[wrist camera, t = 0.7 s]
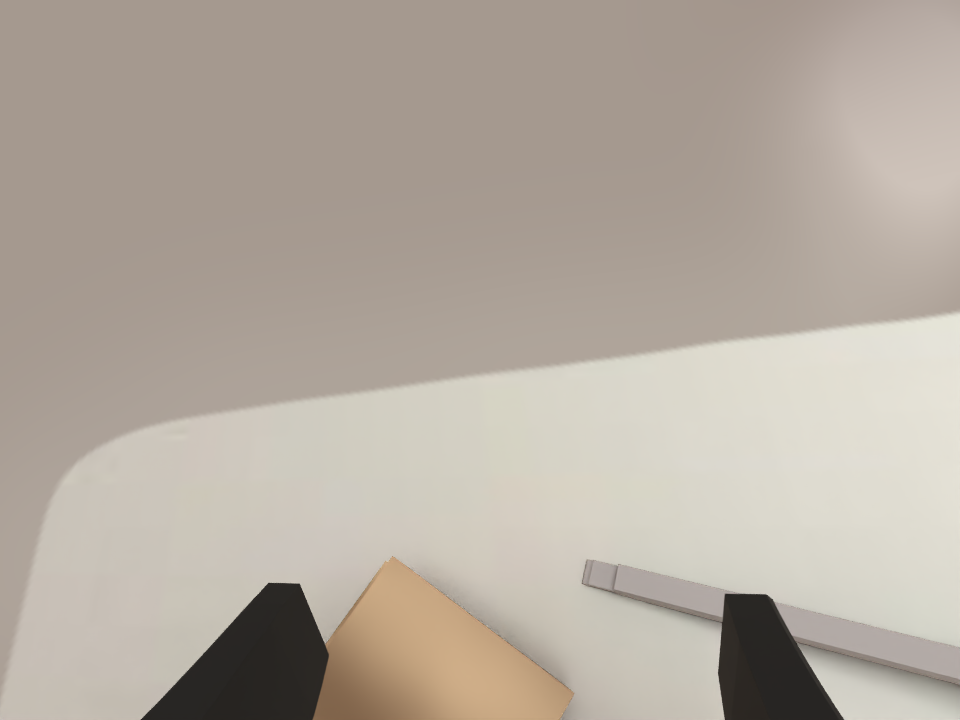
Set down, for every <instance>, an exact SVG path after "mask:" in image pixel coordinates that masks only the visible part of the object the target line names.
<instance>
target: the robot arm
mask: <svg viewBox="0 0 960 720" xmlns="http://www.w3.org/2000/svg"><path fill="white" fill-rule="evenodd" d="M328 659H329V653H328V651H327V648H326V646H325V644H324V641H323V639H322V636H321V634H320V632H319V629H318V627H317V624H316V622H315V619H314V617H313V615H312V612H311V610H310V607H309V605H308V603H307V600H306V598H305V595H304V593H303V591H302V588H301V586H300V584H292V583H268V584H267V585H266V586H265V587H264V588H263V589H262V591H261V592H260V593H259V594H258V595H257V596H256V597H255V598H254V599H253V600H252V601H251V602H250V603H249V604H248V606H247V607H246V608H245V609H244V610H243V611H242V612H241V613H240V614H239V615H238V617H237V618H236V619H235V620H234V621H233V622H232V623H231V624H230V625H229V626H228V628H227V629H226V630H225V631H224V632H223V633H222V634H221V635H220V636H219V637H218V639H217V640H216V641H215V642H214V643H213V644H212V645H211V646H210V647H209V648H208V650H207V651H206V652H205V653H204V654H203V655H202V656H201V657H200V658H199V659H198V660H197V661H196V663H195V664H194V665H193V666H192V667H191V668H190V669H189V670H188V671H187V672H186V673H185V674H184V675H183V676H182V677H181V678H180V680H179V681H178V682H177V683H176V684H175V685H174V686H173V687H172V688H171V689H170V690H169V691H168V692H167V693H166V694H165V696H164V697H163V698H162V699H161V700H160V701H159V702H158V703H157V704H156V705H155V706H154V707H153V708H152V709H151V710H150V711H149V712H148V713H147V714H146V715H145V716H144V717H143V718H142V719H141V720H313V717H314V714H315V710H316V707H317V703H318V699H319V695H320V692H321V688H322V684H323V680H324V675H325V671H326V667H327V663H328ZM718 676H719V683H720V689H721V696H722V703H723V710H724V717H725V720H844V719H843V717H842V716H841V714H840V713H839V711H838V710H837V708H836V707H835V705H834V704H833V702H832V701H831V699H830V697H829V696H828V694H827V693H826V691H825V690H824V688H823V686H822V685H821V683H820V682H819V680H818V678H817V677H816V675H815V673H814V672H813V670H812V669H811V667H810V665H809V664H808V662H807V660H806V659H805V657H804V655H803V654H802V652H801V650H800V649H799V647H798V645H797V643H796V642H795V640H794V638H793V636H792V635H791V633H790V631H789V629H788V627H787V626H786V624H785V622H784V620H783V618H782V616H781V615H780V613H779V611H778V609H777V607H776V605H775V603H774V601H773V599H771V598H770V597H769V596H768V595H765V594H725V596H724V608H723V620H722V632H721V645H720V657H719V669H718Z"/></svg>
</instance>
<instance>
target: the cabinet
mask: <svg viewBox="0 0 960 720" xmlns="http://www.w3.org/2000/svg"><path fill="white" fill-rule="evenodd" d="M325 646H326V648H327V651H328V653H329V659H328V663H327V667H326V671H325V675H324V680H323V684H322V688H321V692H320V695H319V699H318V703H317V707H316V710H315V714H314V717H313V720H560V718H561V716H562V714H563V713H564V711H565V709H566V707H567V706H568V704H569V702H570V700H571V699H572V697H573V695H574V693H573V692H572V691H571V690H570V689H569V688H568V687H566V686H565V685H564V684H562V683H561V682H560V681H558V680H557V679H556V678H554V677H553V676H552V675H550V674H549V673H548V672H547V671H545V670H544V669H543V668H541V667H540V666H539V665H537V664H536V663H535V662H533V661H532V660H531V659H529V658H528V657H527V656H525V655H524V654H523V653H521V652H520V651H519V650H517V649H516V648H514V647H513V646H512V645H510V644H509V643H508V642H506V641H505V640H504V639H502V638H501V637H500V636H498V635H497V634H496V633H494V632H493V631H492V630H490V629H489V628H488V627H486V626H485V625H484V624H482V623H481V622H480V621H478V620H477V619H476V618H474V617H473V616H472V615H470V614H469V613H468V612H467V611H465V610H464V609H463V608H461V607H460V606H459V605H457V604H456V603H455V602H453V601H452V600H451V599H449V598H448V597H447V596H445V595H444V594H443V593H441V592H440V591H439V590H437V589H436V588H435V587H433V586H432V585H431V584H429V583H428V582H427V581H425V580H424V579H423V578H421V577H420V576H419V575H418V574H416V573H415V572H414V571H412V570H411V569H410V568H408V567H407V566H405V565H404V564H403V563H401V562H400V561H399V560H397V559H396V558H395V557H393V556H392V558H391V559H390V560H389V562H387V561H385V563H384V564H383V565H382V567H381V568H380V570H379V571H378V572H377V574H376V575H375V576H374V578H373V579H372V581H371V582H370V583H369V585H368V586H367V588H366V589H365V590H364V592H363V593H362V594H361V596H360V597H359V599H358V600H357V601H356V603H355V604H354V606H353V607H352V608H351V610H350V611H349V613H348V614H347V615H346V617H345V618H344V619H343V621H342V622H341V624H340V625H339V626H338V628H337V629H336V631H335V632H334V633H333V635H332V636H331V638H330V639H329V640H328V642H327V643H326V644H325Z"/></svg>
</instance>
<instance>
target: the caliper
mask: <svg viewBox="0 0 960 720" xmlns="http://www.w3.org/2000/svg"><path fill="white" fill-rule="evenodd" d="M582 584H585V585H588V586H592V587H596V588H599V589H603V590H607V591H611V592H615V593H616V594H619V595H623V596H626V597H630V598H633V599H637V600H640V601H644V602H647V603H651V604H654V605H658V606H662V607H666V608H670V609H673V610H677V611H681V612H685V613H689V614H692V615H696V616H700V617H704V618H708V619H711V620H715V621H719V622H722V620H723V608H724V596H725V594H739V593H735V592H730V591H726V590H722V589H718V588H714V587H710V586H706V585H702V584H698V583H694V582H690V581H685V580H681V579H677V578H673V577H669V576H665V575H661V574H657V573H653V572H649V571H645V570H641V569H636V568H632V567H628V566H624V565H620V564H618V566H616V565H612V564H608V563H603V562H599V561H595V560H587V562H586V567H585V572H584V576H583V581H582ZM774 603H775V602H774ZM775 605H776V607H777V609H778V611H779V613H780V615H781V616H782V618H783V620H784V622H785V624H786V626H787V627H788V629H789V631H790V633H791V635H792V636H793V638H794V640H795V642H799V643H803V644H807V645H811V646H814V647H818V648H822V649H826V650H830V651H833V652H837V653H841V654H845V655H849V656H852V657H856V658H860V659H864V660H868V661H871V662H875V663H879V664H883V665H887V666H890V667H894V668H898V669H902V670H906V671H909V672H913V673H917V674H921V675H925V676H928V677H932V678H936V679H940V680H943V681H947V682H951V683H955V684H959V685H960V648H959V647H954V646H950V645H946V644H942V643H938V642H934V641H930V640H926V639H922V638H918V637H914V636H910V635H906V634H902V633H897V632H893V631H889V630H885V629H881V628H877V627H873V626H869V625H865V624H861V623H857V622H853V621H849V620H844V619H840V618H836V617H832V616H828V615H824V614H820V613H816V612H812V611H808V610H804V609H800V608H796V607H792V606H787V605H783V604H779V603H775Z"/></svg>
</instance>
